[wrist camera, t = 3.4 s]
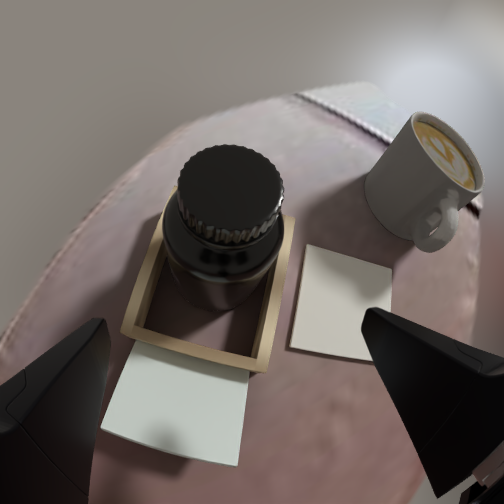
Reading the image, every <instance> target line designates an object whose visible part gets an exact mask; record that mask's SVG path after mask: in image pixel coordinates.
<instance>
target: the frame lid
mask: <svg viewBox="0 0 504 504" xmlns="http://www.w3.org/2000/svg"><path fill="white" fill-rule="evenodd" d="M249 373H250V371H248V370H244V369H239V368H235V367H231V366H226V365H222V364H218V363H214V362H210V361H206V360H203V359H199V358H195V357H192V356H188V355H184V354H181V353H178V352H174V351H171V350H168V349H164V348H161V347H158V346H155V345H152V344H149V343H146V342H142V341H140V340H137V339H136V341H135V344H134V346H133V348H132V350H131V353H130V355H129V357H128V360H127V362H126V364H125V367H124V369H123V371H122V374H121V376H120V378H119V381H118V383H117V386H116V388H115V391H114V393H113V396H112V398H111V401H110V403H109V406H108V408H107V411H106V414H105V416H104V419H103V422H102V424H101V429H102V430H103V431H106V432H108V433H111V434H113V435H116V436H118V437H121V438H124V439H126V440H129V441H132V442H135V443H138V444H141V445H144V446H147V447H150V448H153V449H156V450H160V451H163V452H166V453H170V454H174V455H177V456H181V457H185V458H189V459H194V460H198V461H202V462H207V463H212V464H217V465H223V466H228V467H234V468H235V467H237V464H238V457H239V449H240V442H241V435H242V427H243V420H244V412H245V404H246V397H247V389H248V381H249Z"/></svg>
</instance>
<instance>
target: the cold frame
mask: <svg viewBox="0 0 504 504" xmlns="http://www.w3.org/2000/svg"><path fill="white" fill-rule="evenodd" d="M177 188H178V186H174V188H173V190H172V192H171V194H170V197H169V199H170V198H171V196H172V195H173V194H174V192H175V191H176V190H177ZM169 199H168V201H169ZM168 201H167V203H168ZM167 203H166V205H167ZM165 208H166V206H165ZM165 208H164V210H163V213H162V215H161V218H160V220H159V222H158V225H157V227H156V230H155V232H154V235H153V237H152V240H151V242H150V245H149V248H148V250H147V253H146V255H145V258H144V261H143V263H142V266H141V269H140V272H139V274H138V277H137V280H136V283H135V286H134V289H133V292H132V295H131V298H130V301H129V304H128V307H127V310H126V313H125V316H124V319H123V323H122V326H121V329H120V333H122V334H124V335H126V336H127V337H129V338H132V339H135V340H136V339H137V340H140V341H142V342H146V343H149V344H152V345H155V346H158V347H161V348H164V349H168V350H171V351H174V352H178V353H181V354H184V355H188V356H192V357H195V358H199V359H203V360H206V361H210V362H214V363H218V364H222V365H226V366H231V367H235V368H239V369H244V370H248V371H250V372H255V373H266V372H267V368H268V363H269V358H270V353H271V349H272V344H273V339H274V334H275V329H276V324H277V319H278V314H279V308H280V303H281V298H282V293H283V287H284V282H285V276H286V271H287V265H288V260H289V254H290V248H291V242H292V236H293V230H294V224H295V218H293V217H290V216H286V215H283V214H282V215H283V220H284V239H283V243H282V246H281V249H280V251H279V253H278V255H277V257H276V259H275V260H274V262H273V263H272V265H271V266H270V268H269V273H268V278H267V283H266V288H265V292H264V297H263V302H262V307H261V311H260V316H259V321H258V325H257V330H256V334H255V339H254V343H253V348H252V353H251V357H245V356H241V355H237V354H233V353H228V352H224V351H220V350H216V349H213V348H209V347H205V346H201V345H198V344H194V343H190V342H187V341H183V340H180V339H176V338H173V337H170V336H166V335H163V334H160V333H157V332H154V331H151V330H147V329H144V328H143V327H144V324H145V320H146V317H147V314H148V311H149V307H150V304H151V301H152V298H153V295H154V292H155V289H156V286H157V282H158V280H159V277H160V274H161V271H162V268H163V265H164V262H165V259H166V256H167V252H166V248H165V244H164V240H163V233H162V219H163V214H164V211H165Z"/></svg>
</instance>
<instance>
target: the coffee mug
mask: <svg viewBox="0 0 504 504" xmlns="http://www.w3.org/2000/svg"><path fill="white" fill-rule="evenodd" d="M484 184H485V179H484V174H483V170H482V168H481V165H480V163H479V161H478V159H477V157H476V155H475V154H474V152H473V151H472V150H471V148H470V147H469V145H468V144H467V143H466V141H465V140H464V139H463V138H462V137H461V136H460V135H459V134H458V133H457V132H456V131H455V130H454V129H453V128H452V127H451V126H449V125H448V124H447V123H445V122H444V121H442V120H441V119H439V118H438V117H436V116H434V115H431V114H429V113H425V112H416V113H414V114H413V115H412V116H411V117H410V118H409V120H408V121H407V122H406V124H405V125H404V127H403V128H402V129H401V131H400V132H399V133H398V135H397V136H396V138H395V139H394V140H393V142H392V143H391V144H390V146H389V147H388V148H387V150H386V151H385V152H384V154H383V155H382V156H381V158H380V159H379V160H378V162H377V163H376V164H375V166H374V167H373V168H372V169H371V171H370V172H369V173H368V175H367V177H366V179H365V183H364V191H365V196H366V199H367V202H368V205H369V207H370V209H371V210H372V212H373V214H374V215H375V217H376V218H377V219H378V220H379V221H380V223H381V224H382V225H383V226H384V227H385V228H386V229H387V230H389V231H390V232H392V233H393V234H395V235H396V236H398V237H400V238H403V239H406V240H413V241H414V244H415V245H416V247H417V248H418V249H420V250H421V251H424V252H429V253H431V252H435V251H437V250H439V249H441V248H443V247H444V246H445V245H446V244H447V243H449V242H450V241H451V239H452V238H453V236H454V235H455V233H456V231H457V227H458V211H459V210H460V209H461V208H462V207H464V206H465V205H466V204H467V203H469V202H470V201H471V200H472V199H473V198H475V197H476V196H477V195H478V194H479V193H480V192H481V191H482V190H483V188H484ZM437 227H438V228H437ZM436 228H437V230H436V231H435V232H434V233H433V234H432V235H430V236H429V234H430V232H432V231H433V230H434V229H436Z"/></svg>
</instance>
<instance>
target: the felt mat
mask: <svg viewBox="0 0 504 504" xmlns="http://www.w3.org/2000/svg"><path fill="white" fill-rule="evenodd" d="M391 287H392V269H390V268H386V267H383V266H380V265H377V264H373V263H370V262H367V261H363V260H360V259H357V258H353V257H350V256H347V255H343V254H340V253H337V252H333V251H330V250H326V249H323V248H319V247H316V246H312V245H309V244H307V245H306V249H305V256H304V262H303V269H302V275H301V282H300V288H299V294H298V300H297V306H296V312H295V317H294V323H293V328H292V334H291V339H290V345H289V347H291V348H296V349H301V350H306V351H311V352H317V353H322V354H328V355H334V356H340V357H346V358H353V359H359V360H366V361H373V360H372V358H371V355H370V353H369V350H368V348H367V345H366V343H365V340H364V338H363V335H362V333H361V325H362V321H363V318H364V315H365V311H366V310H367V309H368V308H371V307H379V308H381V309H383V310H386V311H388V312H390V310H391Z"/></svg>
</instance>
